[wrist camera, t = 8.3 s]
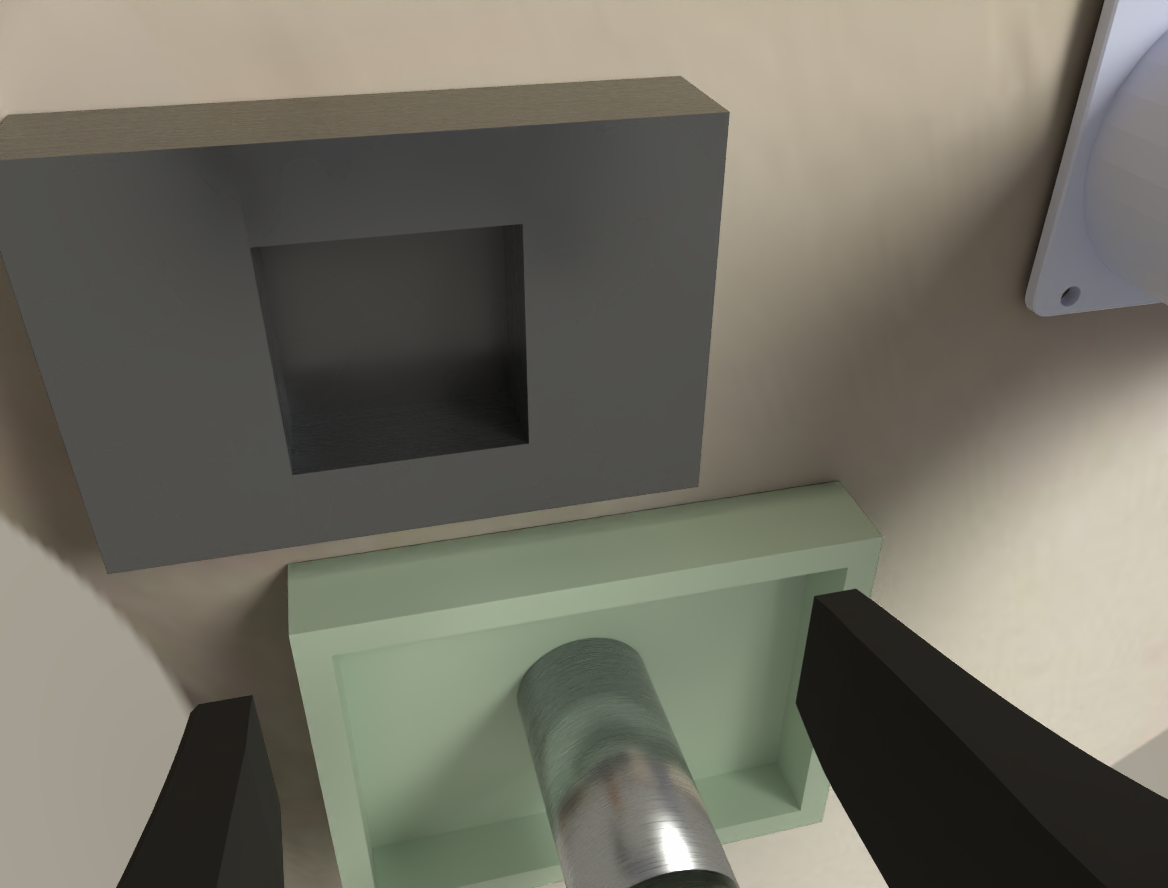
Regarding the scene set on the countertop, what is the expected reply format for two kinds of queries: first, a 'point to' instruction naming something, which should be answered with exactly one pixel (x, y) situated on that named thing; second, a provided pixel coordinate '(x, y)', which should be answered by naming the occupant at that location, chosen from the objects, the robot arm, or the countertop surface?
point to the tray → (533, 628)
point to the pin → (615, 774)
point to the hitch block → (367, 306)
